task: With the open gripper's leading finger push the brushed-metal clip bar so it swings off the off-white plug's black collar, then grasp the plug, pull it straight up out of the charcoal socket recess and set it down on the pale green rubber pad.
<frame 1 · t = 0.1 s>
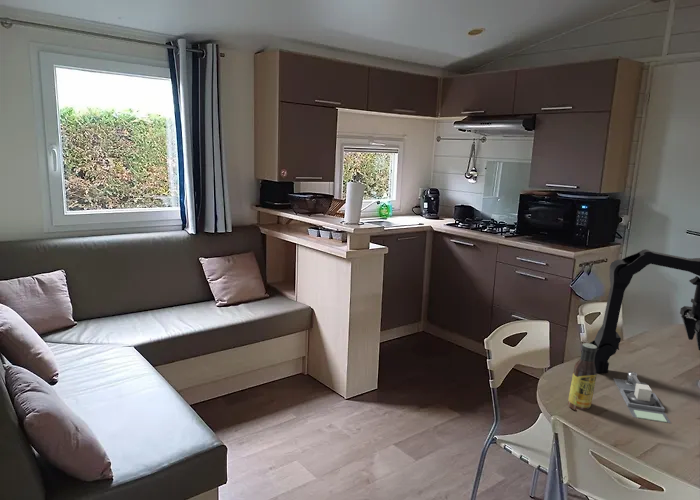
hand: (695, 344, 166), 15 cm above the table, fingers open, 9 cm apart
plug: (641, 401, 156), point 1 cm above the table, touching socket base
socket base: (639, 402, 157), on the table
sauce bottle: (579, 408, 153), on the table
clip: (635, 383, 162), point 3 cm above the table, hinge at 0.0°
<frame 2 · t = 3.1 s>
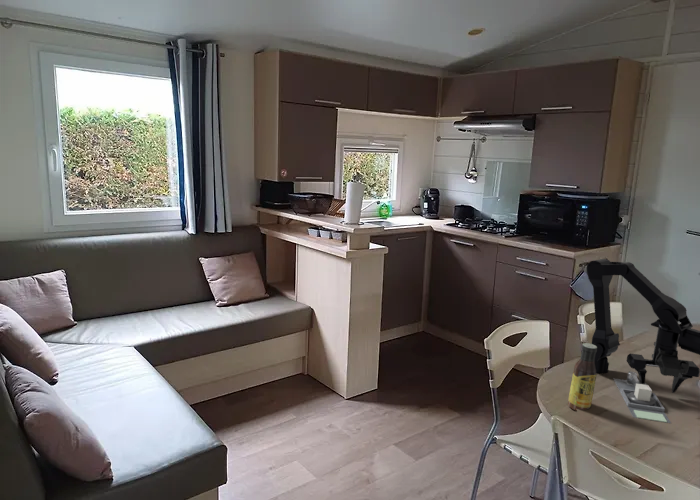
hand: (657, 390, 160), 3 cm above the table, fingers open, 8 cm apart
clip: (635, 383, 162), point 3 cm above the table, hinge at 0.0°, touching gripper
everything else where it was.
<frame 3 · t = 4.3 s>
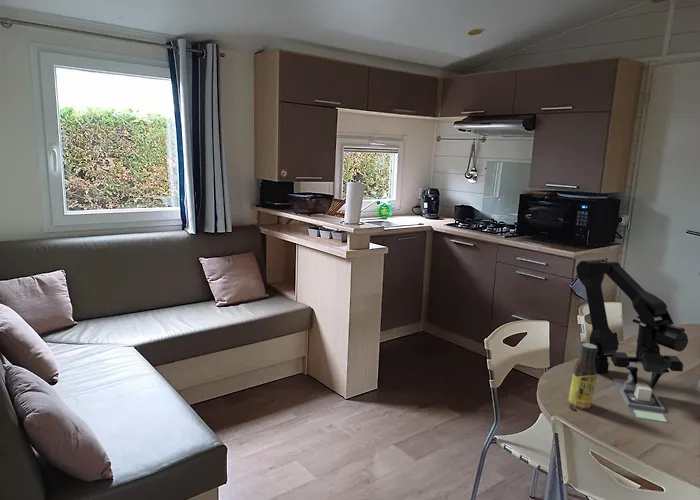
hand: (643, 386, 160), 3 cm above the table, fingers open, 4 cm apart
clip: (629, 382, 163), point 3 cm above the table, hinge at -21.6°, touching gripper
everything else where it was.
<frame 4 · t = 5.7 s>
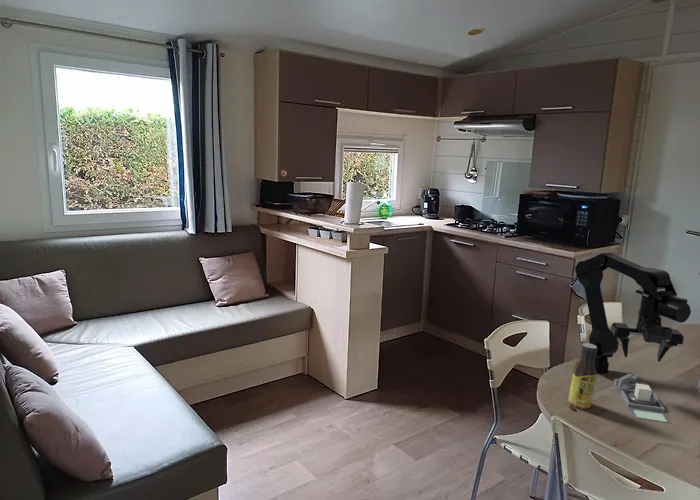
hand: (641, 359, 159), 12 cm above the table, fingers open, 9 cm apart
clip: (625, 380, 164), point 3 cm above the table, hinge at -38.6°
everything else where it was.
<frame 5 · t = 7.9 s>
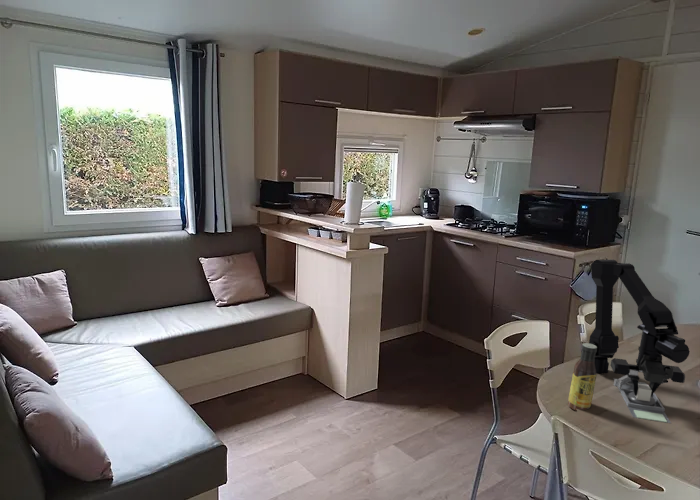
hand: (642, 396, 155), 3 cm above the table, fingers closed on plug, 3 cm apart
plug: (641, 401, 156), point 1 cm above the table, touching gripper, socket base
everything else where it was.
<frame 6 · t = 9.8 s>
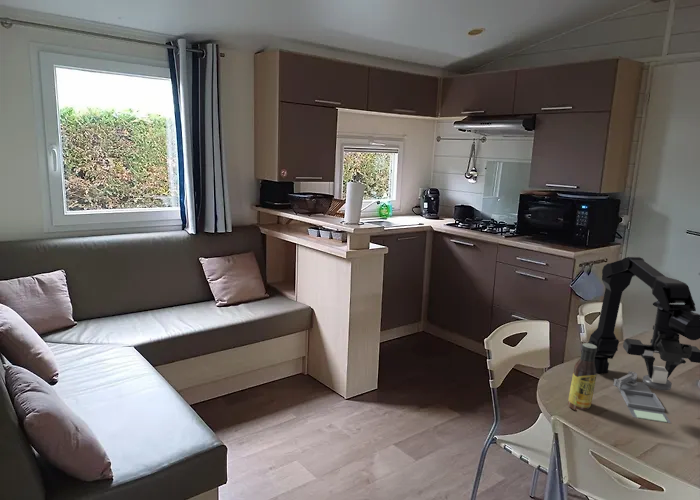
hand: (657, 378, 145), 13 cm above the table, fingers closed on plug, 3 cm apart
plug: (656, 384, 145), point 11 cm above the table, touching gripper
everything else where it was.
when the fingers open (4 cm above the table, at t = 11.7 s): plug stays where it is, resting on socket base.
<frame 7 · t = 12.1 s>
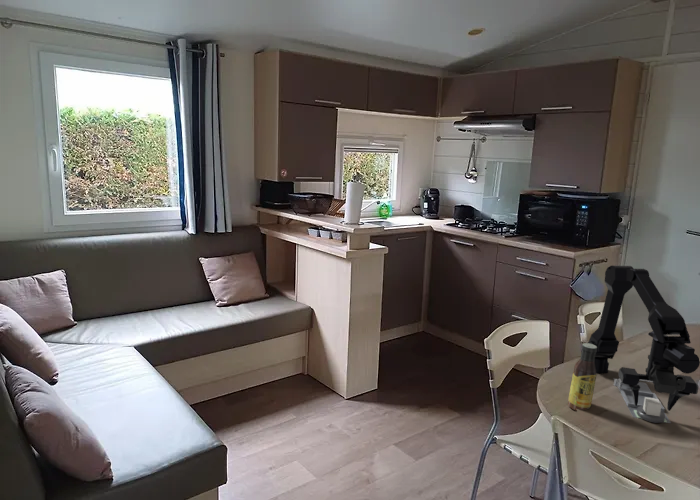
hand: (652, 407, 146), 4 cm above the table, fingers open, 8 cm apart
plug: (650, 416, 147), point 1 cm above the table, touching socket base
everything else where it was.
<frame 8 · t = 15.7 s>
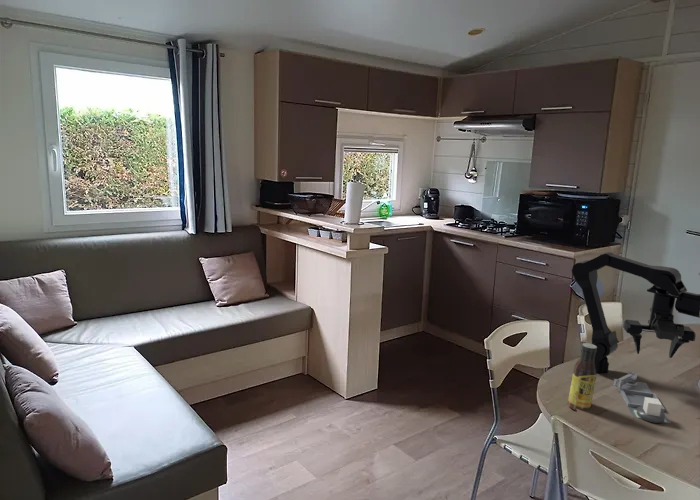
hand: (653, 355, 161), 13 cm above the table, fingers open, 9 cm apart
nothing on the table moved.
at the end: clip at -39° (first picture: +0°); plug inside the target area on the socket base (0.2 cm from its centre), point 1.5 cm above the socket base's base; plug tilted 0° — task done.
